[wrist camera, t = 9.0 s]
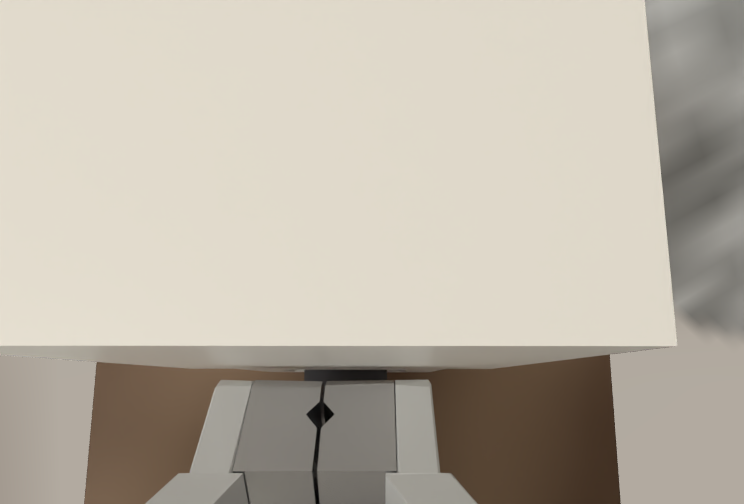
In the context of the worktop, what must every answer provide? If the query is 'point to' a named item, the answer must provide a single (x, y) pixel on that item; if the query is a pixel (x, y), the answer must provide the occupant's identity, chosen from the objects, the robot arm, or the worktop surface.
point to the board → (449, 386)
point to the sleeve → (330, 183)
